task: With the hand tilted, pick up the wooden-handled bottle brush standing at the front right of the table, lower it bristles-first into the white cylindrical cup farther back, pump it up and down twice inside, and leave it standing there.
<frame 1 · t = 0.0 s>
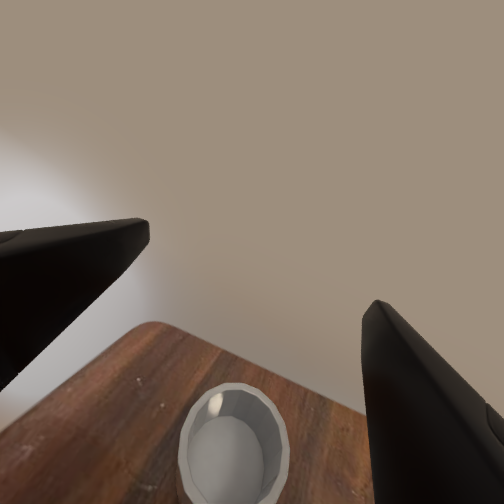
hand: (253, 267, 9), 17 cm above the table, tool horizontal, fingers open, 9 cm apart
white cylindrical cup: (224, 464, 16), on the table
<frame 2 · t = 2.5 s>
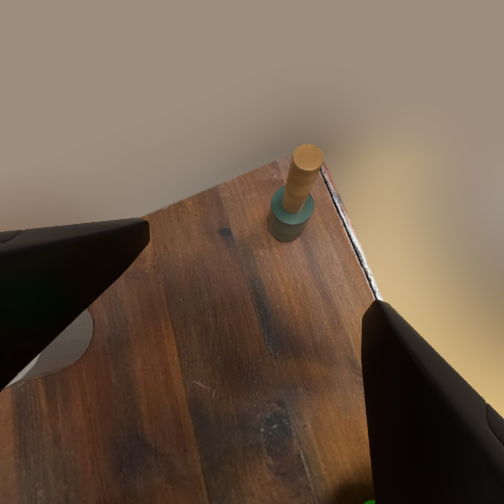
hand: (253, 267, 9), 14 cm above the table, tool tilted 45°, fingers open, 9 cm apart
white cylindrical cup: (59, 333, 21), on the table
brush: (285, 225, 24), on the table
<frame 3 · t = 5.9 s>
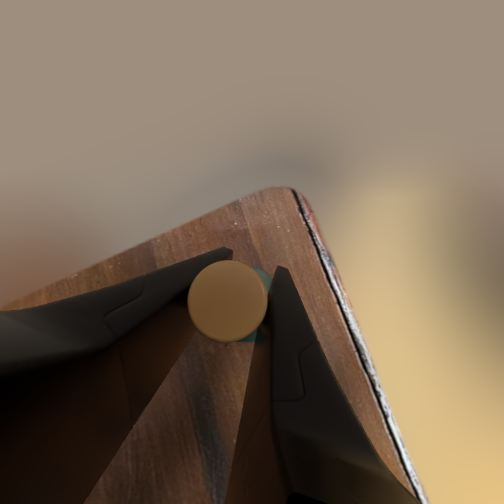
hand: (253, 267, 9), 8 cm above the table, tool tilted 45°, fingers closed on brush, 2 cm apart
brush: (249, 303, 16), on the table, touching gripper
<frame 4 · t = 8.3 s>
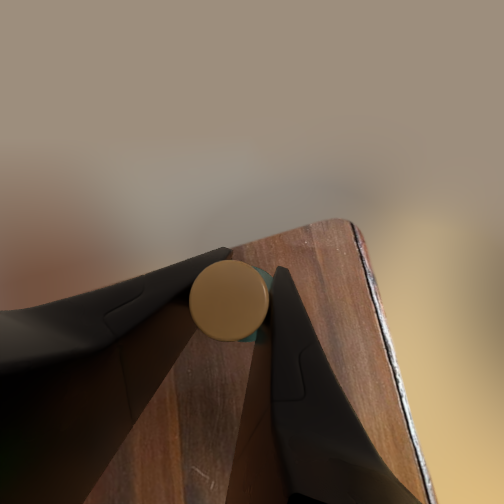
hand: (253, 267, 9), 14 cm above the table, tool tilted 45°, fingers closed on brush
brush: (249, 303, 16), point 6 cm above the table, touching gripper
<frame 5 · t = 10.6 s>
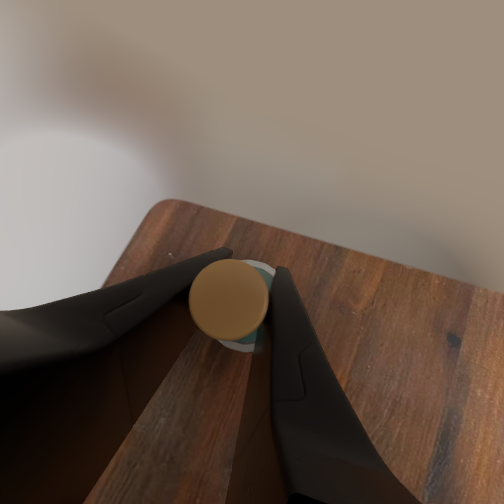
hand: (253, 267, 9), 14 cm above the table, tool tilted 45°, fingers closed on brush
white cylindrical cup: (249, 304, 21), on the table
brush: (249, 303, 16), point 6 cm above the table, touching gripper
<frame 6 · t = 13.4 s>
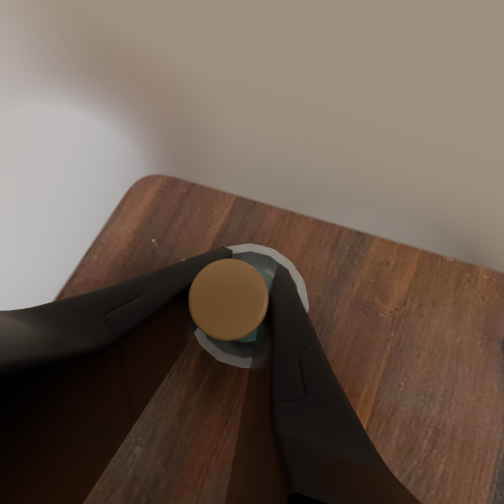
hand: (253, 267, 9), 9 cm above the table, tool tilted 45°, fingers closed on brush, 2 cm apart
white cylindrical cup: (250, 302, 17), on the table
brush: (249, 303, 16), point 2 cm above the table, touching gripper
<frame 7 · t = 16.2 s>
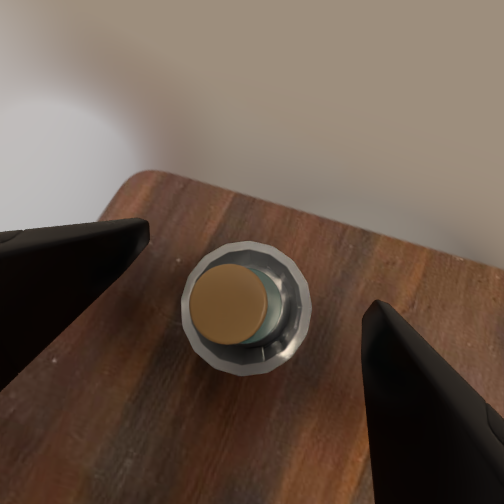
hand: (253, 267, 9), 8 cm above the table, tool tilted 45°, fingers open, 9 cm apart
white cylindrical cup: (249, 304, 16), on the table
brush: (249, 304, 16), resting on white cylindrical cup
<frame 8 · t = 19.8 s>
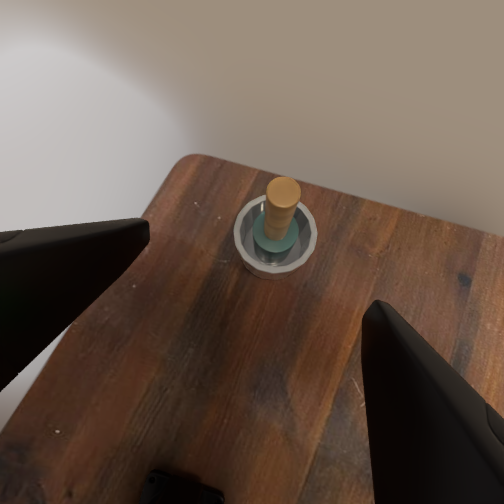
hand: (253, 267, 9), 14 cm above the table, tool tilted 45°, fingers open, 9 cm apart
white cylindrical cup: (271, 247, 23), on the table
brush: (271, 246, 22), resting on white cylindrical cup
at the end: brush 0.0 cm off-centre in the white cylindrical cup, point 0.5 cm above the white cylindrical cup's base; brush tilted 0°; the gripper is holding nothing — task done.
